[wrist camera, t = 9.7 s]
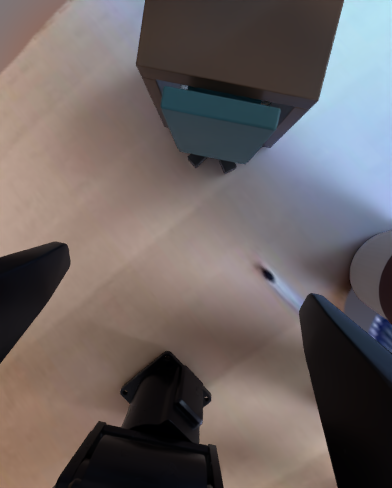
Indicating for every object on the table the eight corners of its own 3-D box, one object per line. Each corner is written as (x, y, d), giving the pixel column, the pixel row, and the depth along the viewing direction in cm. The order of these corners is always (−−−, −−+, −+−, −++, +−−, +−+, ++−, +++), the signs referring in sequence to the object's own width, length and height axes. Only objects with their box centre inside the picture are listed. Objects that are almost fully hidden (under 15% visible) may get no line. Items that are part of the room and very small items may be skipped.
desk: (270, 147, 19) (319, 100, 11) (164, 126, 19) (135, 64, 11) (288, 69, 18) (355, -44, 10) (177, 48, 18) (156, -82, 10)
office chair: (242, 178, 19) (292, 133, 8) (178, 165, 19) (143, 104, 8) (257, 111, 18) (334, -36, 8) (190, 98, 18) (169, -67, 8)
